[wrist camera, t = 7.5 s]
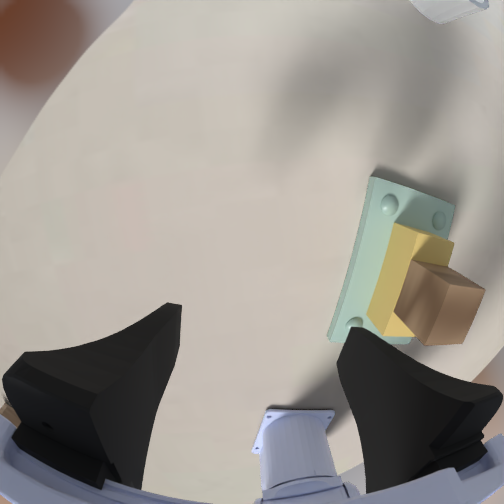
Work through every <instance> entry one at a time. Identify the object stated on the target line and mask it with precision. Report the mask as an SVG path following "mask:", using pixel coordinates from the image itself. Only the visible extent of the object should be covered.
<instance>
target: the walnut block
mask: <svg viewBox="0 0 504 504" xmlns="http://www.w3.org/2000/svg"><path fill="white" fill-rule="evenodd" d="M484 292H485V289H484V288H482V287H480V286H479V285H477V284H476V283H474V282H472V281H471V280H469V279H468V278H466V277H464V276H463V275H461V274H459V273H458V272H456V271H454V270H452V269H451V268H449V267H446V266H441V265H436V264H432V263H427V262H422V261H416V260H411V261H410V264H409V268H408V271H407V274H406V277H405V280H404V283H403V286H402V289H401V292H400V295H399V298H398V300H397V303H396V306H395V308H394V311H393V312H394V313H395V314H396V315H397V316H398V317H399V318H400V319H401V321H402V322H403V323H404V324H405V325H406V326H407V327H408V328H409V329H410V330H411V331H412V332H413V334H414V335H415V336H416V337H417V338H418V339H419V340H420V341H421V342H422V344H423V345H424V346H429V345H449V344H462V343H463V341H464V339H465V337H466V335H467V333H468V331H469V329H470V326H471V324H472V322H473V320H474V317H475V315H476V313H477V310H478V308H479V305H480V303H481V300H482V298H483V295H484Z"/></svg>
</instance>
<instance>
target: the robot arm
mask: <svg viewBox="0 0 504 504" xmlns="http://www.w3.org/2000/svg"><path fill="white" fill-rule="evenodd" d="M181 312H182V305H178V304H173V303H168V302H167V303H166V304H164V305H163V306H161V307H160V308H158V309H157V310H155V311H154V312H152V313H151V314H149V315H148V316H146V317H144V318H143V319H141V320H140V321H138V322H136V323H134V324H133V325H131V326H129V327H127V328H125V329H123V330H121V331H119V332H117V333H115V334H113V335H110V336H108V337H105V338H103V339H100V340H97V341H94V342H90V343H87V344H83V345H80V346H76V347H71V348H65V349H59V350H51V351H35V352H24V353H23V354H22V355H21V356H20V358H19V359H18V360H17V361H16V362H15V363H14V364H13V365H12V366H11V367H10V368H9V369H8V371H7V372H6V373H5V374H4V375H3V378H2V382H3V388H4V391H5V393H6V396H7V398H8V399H9V401H10V403H11V405H12V407H13V409H14V410H15V412H16V414H17V416H18V417H19V419H20V421H21V423H20V425H19V426H18V428H16V426H15V425H14V424H13V423H12V422H10V421H9V420H8V419H6V418H5V417H4V416H2V415H1V414H0V495H2V496H3V497H4V498H6V499H7V500H8V501H10V502H11V503H12V504H211V503H202V502H195V501H189V500H183V499H177V498H172V497H167V496H163V495H158V494H154V493H150V492H146V491H142V490H141V488H142V481H143V474H144V468H145V462H146V457H147V451H148V447H149V442H150V437H151V433H152V428H153V424H154V420H155V416H156V412H157V409H158V406H159V403H160V401H161V398H162V396H163V393H164V391H165V388H166V386H167V383H168V381H169V378H170V376H171V373H172V371H173V368H174V366H175V362H176V358H177V354H178V350H179V346H180V328H181ZM337 368H338V373H339V377H340V381H341V384H342V387H343V389H344V392H345V395H346V397H347V400H348V402H349V405H350V408H351V410H352V413H353V415H354V418H355V421H356V424H357V427H358V432H359V436H360V441H361V446H362V452H363V458H364V465H365V476H366V494H364V495H360V493H359V491H358V489H357V487H356V486H355V485H354V484H352V483H350V482H344V483H342V480H341V476H337V473H336V469H335V466H334V462H333V458H332V455H331V451H330V447H329V444H328V440H327V437H326V433H325V430H326V429H327V427H328V425H329V424H330V422H331V420H332V418H333V417H334V415H335V411H334V410H279V409H268V410H266V411H265V414H264V417H263V420H262V423H261V426H260V428H259V431H258V434H257V437H256V439H255V442H254V445H253V448H252V453H254V454H260V472H261V487H262V493H263V498H258V499H256V500H255V502H254V503H253V504H480V503H481V502H483V501H484V500H486V499H487V498H488V497H489V496H491V495H492V494H493V493H495V492H496V491H497V490H498V489H499V488H501V487H502V486H503V485H504V436H503V435H502V434H498V435H497V436H495V437H493V438H492V439H490V440H488V441H487V442H486V443H485V444H484V445H483V444H482V442H481V439H483V438H484V434H483V433H482V430H483V428H484V427H485V426H486V425H487V424H488V422H489V421H490V420H491V418H492V417H493V416H494V415H495V413H496V412H497V410H498V409H499V407H500V405H501V403H502V400H503V395H502V393H501V392H500V391H499V390H498V389H497V388H496V387H494V386H489V385H483V384H477V383H471V382H468V381H464V380H460V379H457V378H453V377H451V376H448V375H445V374H443V373H440V372H438V371H435V370H433V369H431V368H429V367H427V366H425V365H423V364H421V363H419V362H417V361H416V360H414V359H412V358H411V357H409V356H407V355H406V354H404V353H402V352H401V351H399V350H398V349H396V348H395V347H393V346H392V345H390V344H389V343H387V342H386V341H384V340H383V339H381V338H380V337H378V336H377V335H375V334H374V333H372V332H371V331H369V330H367V329H365V328H363V327H351V328H350V331H349V333H348V336H347V338H346V341H345V343H344V346H343V348H342V351H341V353H340V356H339V358H338V360H337Z"/></svg>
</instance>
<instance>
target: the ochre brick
mask: <svg viewBox="0 0 504 504" xmlns="http://www.w3.org/2000/svg"><path fill="white" fill-rule="evenodd" d="M453 247H454V243H453V242H451V241H449V240H447V239H444V238H442V237H440V236H437V235H435V234H432V233H430V232H427V231H423V230H420V229H416V228H413V227H409V226H405V225H402V224H398V223H394V224H393V228H392V232H391V236H390V240H389V243H388V247H387V251H386V254H385V258H384V261H383V264H382V268H381V271H380V274H379V277H378V281H377V284H376V287H375V290H374V293H373V296H372V299H371V301H370V304H369V307H368V310H367V313H366V315H367V316H368V318H369V319H370V320H371V322H372V323H373V324H374V325H375V327H376V328H377V329H378V331H379V332H380V333H381V335H382V336H394V337H416V336H415V335H414V334H413V332H412V331H411V330H410V329H409V328H408V327H407V326H406V325H405V324H404V323H403V322H402V321H401V319H400V318H399V317H398V316H397V315H396V314H395V313H394V312H393V311H394V308H395V306H396V303H397V300H398V298H399V295H400V292H401V289H402V286H403V283H404V280H405V277H406V274H407V271H408V268H409V264H410V261H411V260H416V261H422V262H427V263H432V264H436V265H441V266H446V267H448V264H449V261H450V257H451V254H452V250H453Z"/></svg>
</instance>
